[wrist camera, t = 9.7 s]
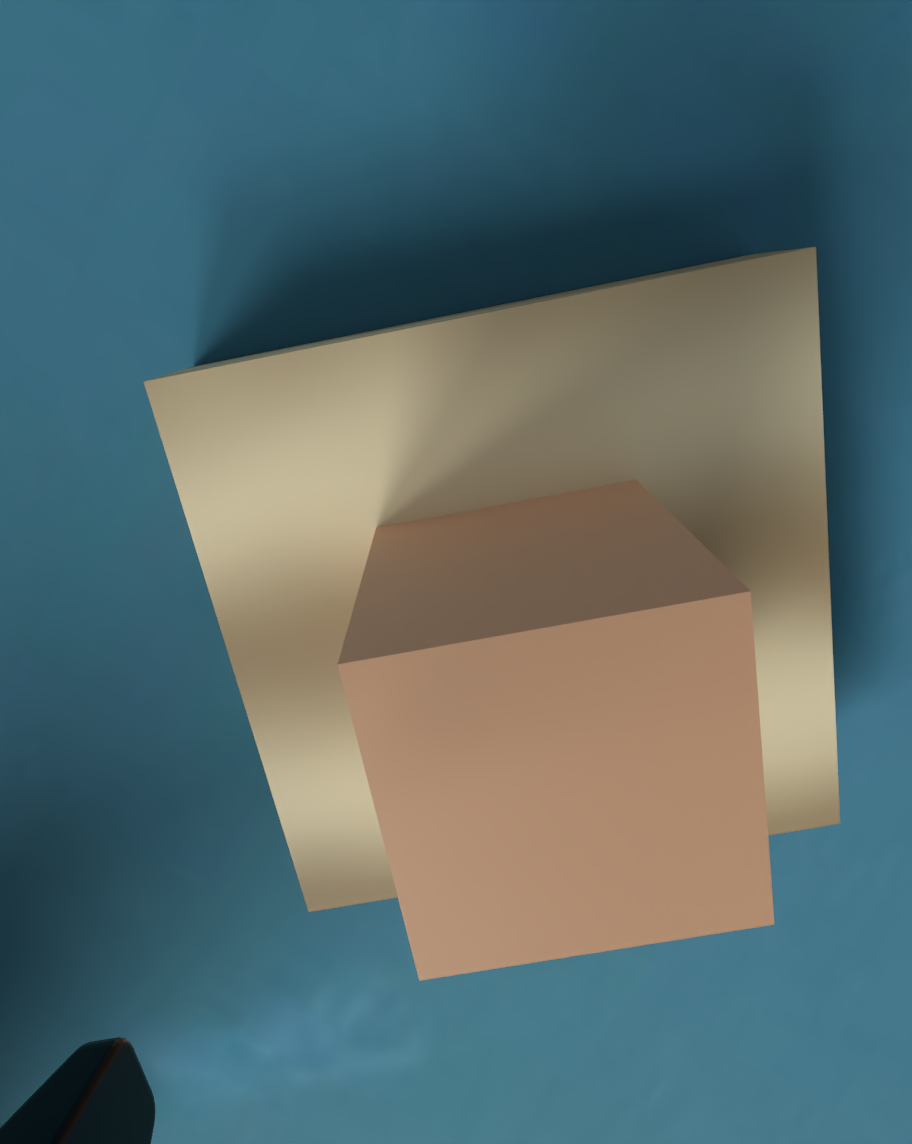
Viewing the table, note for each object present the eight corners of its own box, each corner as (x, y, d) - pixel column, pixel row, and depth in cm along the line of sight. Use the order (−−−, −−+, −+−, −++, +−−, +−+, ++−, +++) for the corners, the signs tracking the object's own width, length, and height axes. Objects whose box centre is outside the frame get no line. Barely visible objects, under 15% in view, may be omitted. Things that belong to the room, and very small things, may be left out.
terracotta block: (663, 711, 17) (774, 924, 11) (427, 752, 17) (419, 980, 11) (636, 479, 15) (751, 591, 10) (376, 527, 16) (336, 664, 10)
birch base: (785, 750, 21) (839, 823, 18) (326, 829, 21) (308, 912, 18) (752, 253, 17) (815, 246, 14) (192, 366, 17) (143, 381, 15)
